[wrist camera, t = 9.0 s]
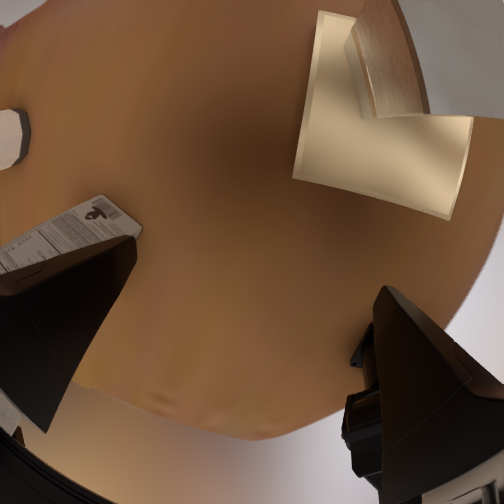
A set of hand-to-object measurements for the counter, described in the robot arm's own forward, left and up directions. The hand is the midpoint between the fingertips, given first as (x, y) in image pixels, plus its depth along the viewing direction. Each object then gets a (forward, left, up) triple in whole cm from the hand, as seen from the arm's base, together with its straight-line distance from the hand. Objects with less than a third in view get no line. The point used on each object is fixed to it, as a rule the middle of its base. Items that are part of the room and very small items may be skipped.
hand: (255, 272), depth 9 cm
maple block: (+8, -6, -14) cm, 17 cm away
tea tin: (+10, -5, -10) cm, 14 cm away
